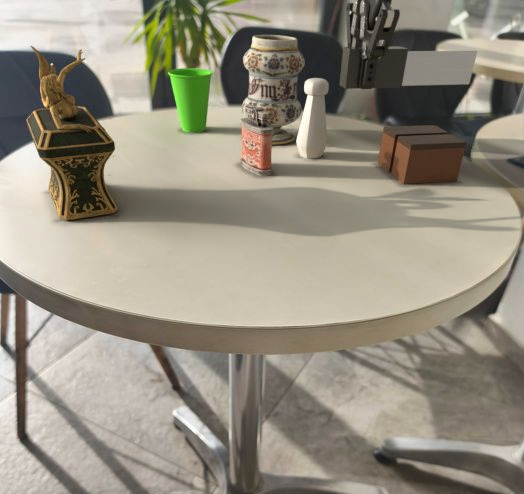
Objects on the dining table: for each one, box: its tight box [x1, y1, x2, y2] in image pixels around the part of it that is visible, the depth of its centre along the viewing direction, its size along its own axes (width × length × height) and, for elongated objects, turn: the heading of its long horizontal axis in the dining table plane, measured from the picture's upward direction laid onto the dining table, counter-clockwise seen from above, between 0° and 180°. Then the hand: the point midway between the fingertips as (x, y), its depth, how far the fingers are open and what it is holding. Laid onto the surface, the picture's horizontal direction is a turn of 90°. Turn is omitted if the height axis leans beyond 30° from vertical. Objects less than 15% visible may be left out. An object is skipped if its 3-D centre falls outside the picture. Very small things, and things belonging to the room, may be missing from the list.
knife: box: [339, 45, 478, 90], centre depth 74 cm, size 21×3×5 cm, turn 103°
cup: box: [167, 67, 214, 134], centre depth 103 cm, size 9×9×11 cm
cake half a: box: [390, 133, 468, 185], centre depth 84 cm, size 10×5×6 cm, turn 103°
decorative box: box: [25, 45, 119, 221], centre depth 69 cm, size 20×10×20 cm, turn 25°
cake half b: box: [377, 124, 449, 173], centre depth 89 cm, size 10×5×6 cm, turn 103°
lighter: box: [240, 104, 273, 177], centre depth 85 cm, size 8×3×10 cm, turn 32°
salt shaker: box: [295, 77, 330, 159], centre depth 91 cm, size 6×6×13 cm
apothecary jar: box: [241, 34, 306, 146], centre depth 97 cm, size 12×12×18 cm
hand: (361, 85), depth 74 cm, fingers closed on knife, 2 cm apart
